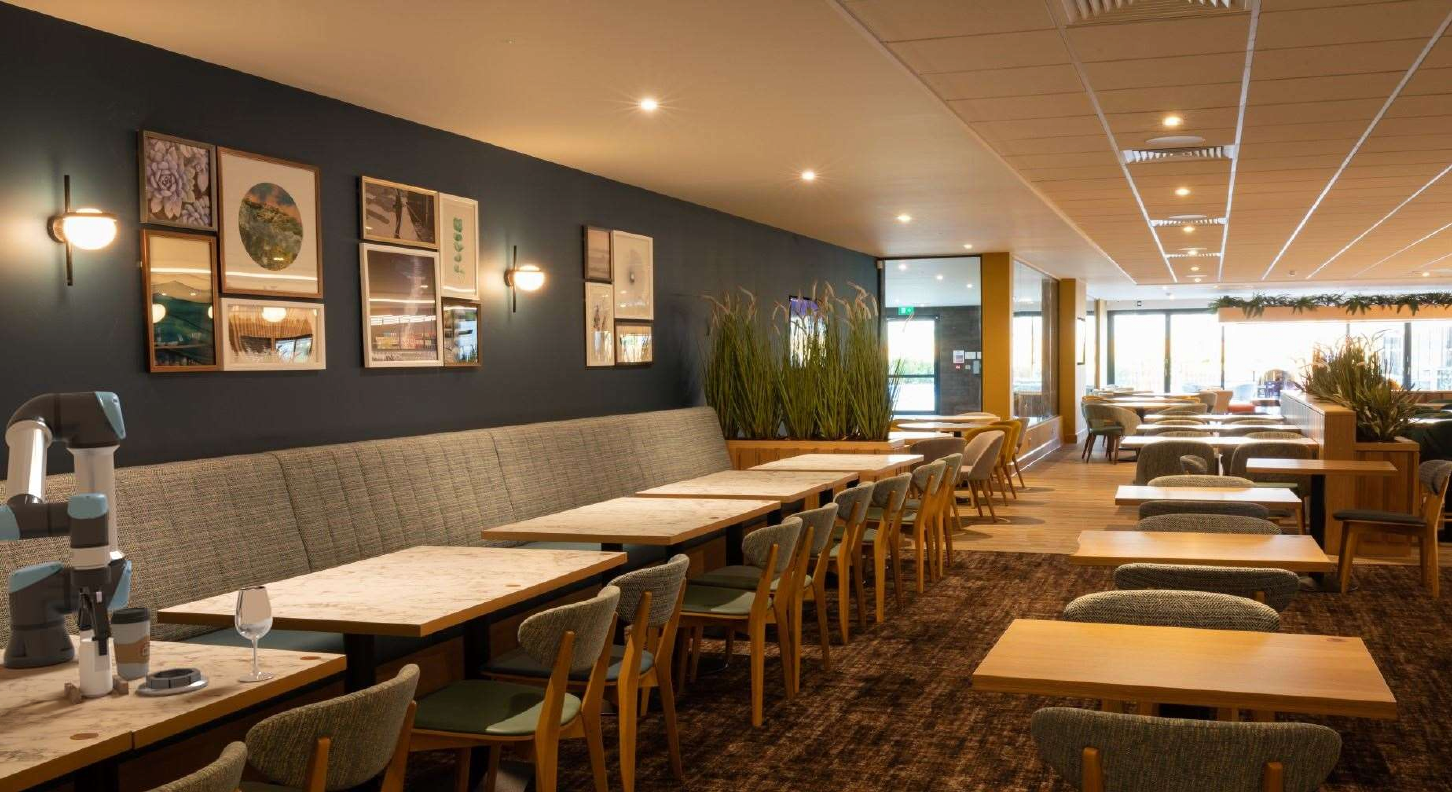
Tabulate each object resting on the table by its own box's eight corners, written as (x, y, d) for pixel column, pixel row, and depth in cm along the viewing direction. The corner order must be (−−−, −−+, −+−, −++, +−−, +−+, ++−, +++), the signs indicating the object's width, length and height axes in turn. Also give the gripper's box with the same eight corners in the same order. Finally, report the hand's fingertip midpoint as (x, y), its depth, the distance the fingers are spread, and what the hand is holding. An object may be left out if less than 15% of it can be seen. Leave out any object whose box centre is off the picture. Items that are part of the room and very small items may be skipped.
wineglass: (266, 671, 278) (262, 583, 278) (281, 676, 273) (277, 587, 272) (231, 678, 273) (227, 588, 273) (246, 684, 267) (242, 592, 267)
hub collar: (131, 687, 268) (130, 673, 268) (198, 675, 277) (197, 662, 277) (147, 699, 257) (146, 685, 257) (217, 686, 266) (216, 673, 266)
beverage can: (79, 700, 259) (76, 643, 258) (81, 693, 264) (79, 638, 264) (112, 696, 261) (109, 639, 261) (113, 689, 267) (111, 634, 267)
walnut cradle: (64, 695, 263) (64, 683, 263) (117, 685, 270) (117, 674, 270) (74, 704, 256) (74, 692, 256) (128, 694, 262) (128, 682, 262)
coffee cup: (137, 681, 273) (134, 614, 273) (104, 680, 275) (101, 614, 275) (161, 672, 282) (158, 606, 281) (129, 671, 283) (126, 606, 283)
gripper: (59, 563, 270) (63, 659, 270) (83, 574, 250) (88, 678, 250) (96, 558, 274) (101, 653, 275) (123, 569, 255) (128, 671, 255)
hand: (95, 665), depth 262 cm, fingers open, 13 cm apart
